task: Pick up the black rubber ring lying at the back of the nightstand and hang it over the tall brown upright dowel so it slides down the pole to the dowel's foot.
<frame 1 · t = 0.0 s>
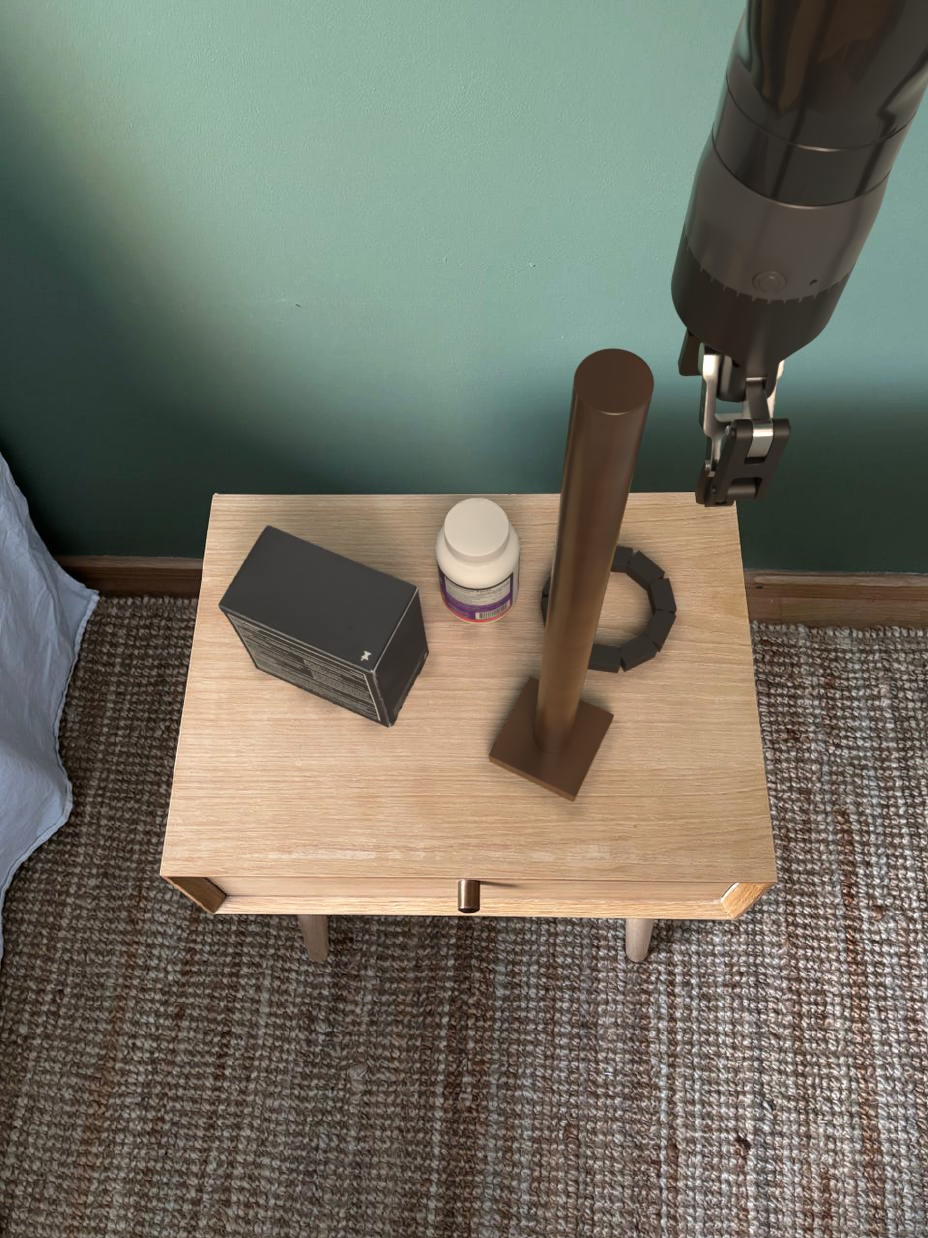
hand: (704, 432, 59), 15 cm above the table, tool pointing down, fingers open, 8 cm apart
pill bottle: (479, 592, 72), on the table
small box: (344, 659, 70), on the table
brown upright dowel: (551, 741, 67), on the table
ring: (606, 611, 71), on the table
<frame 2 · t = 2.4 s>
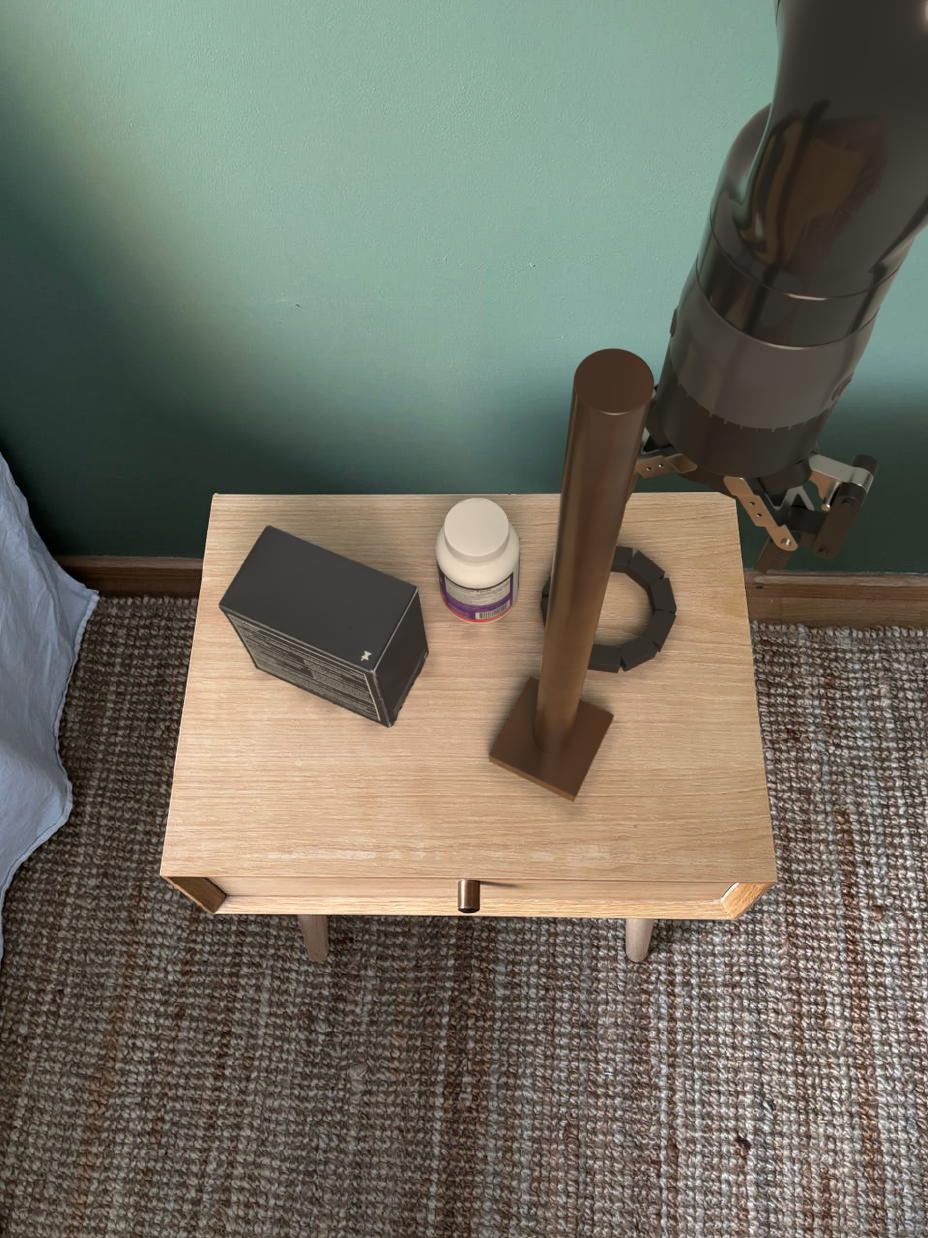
hand: (692, 527, 58), 14 cm above the table, tool pointing down, fingers open, 8 cm apart
nothing on the table moved.
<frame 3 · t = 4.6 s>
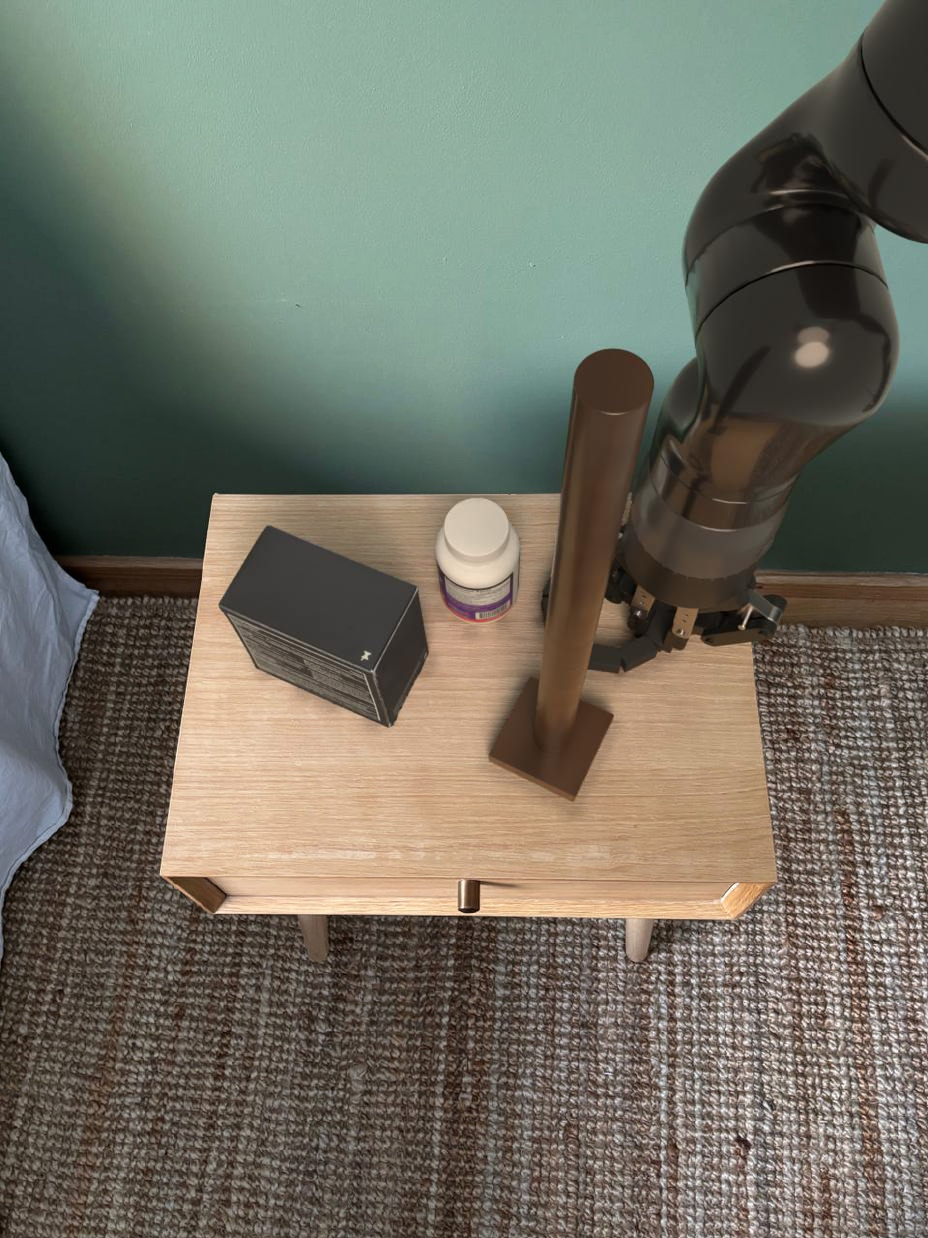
hand: (656, 633, 70), 0 cm above the table, tool pointing down, fingers closed on ring, 1 cm apart
ring: (607, 611, 71), on the table, touching gripper
everything else where it was.
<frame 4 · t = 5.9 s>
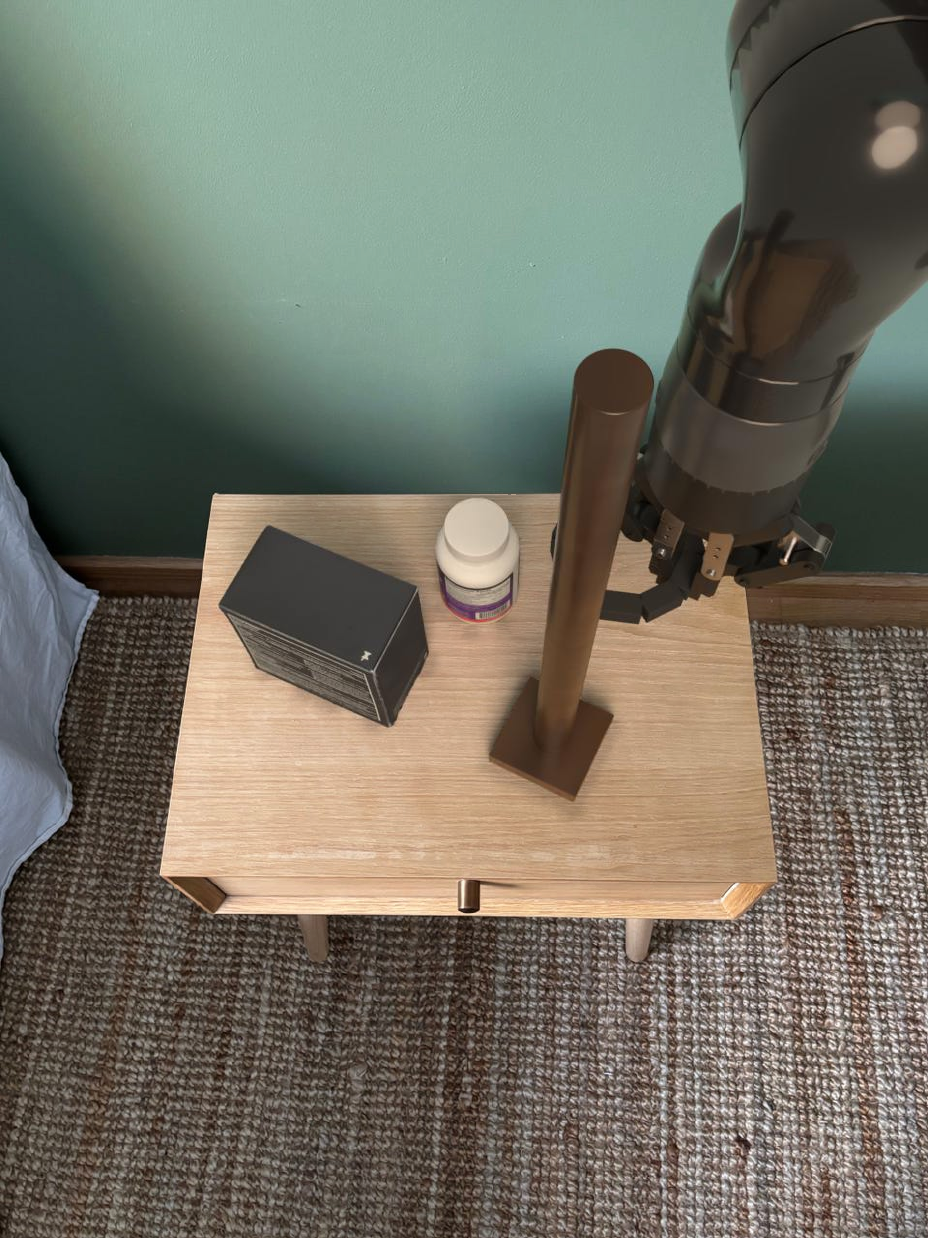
hand: (682, 578, 61), 9 cm above the table, tool pointing down, fingers closed on ring, 1 cm apart
ring: (625, 555, 62), point 9 cm above the table, touching gripper
everything else where it was.
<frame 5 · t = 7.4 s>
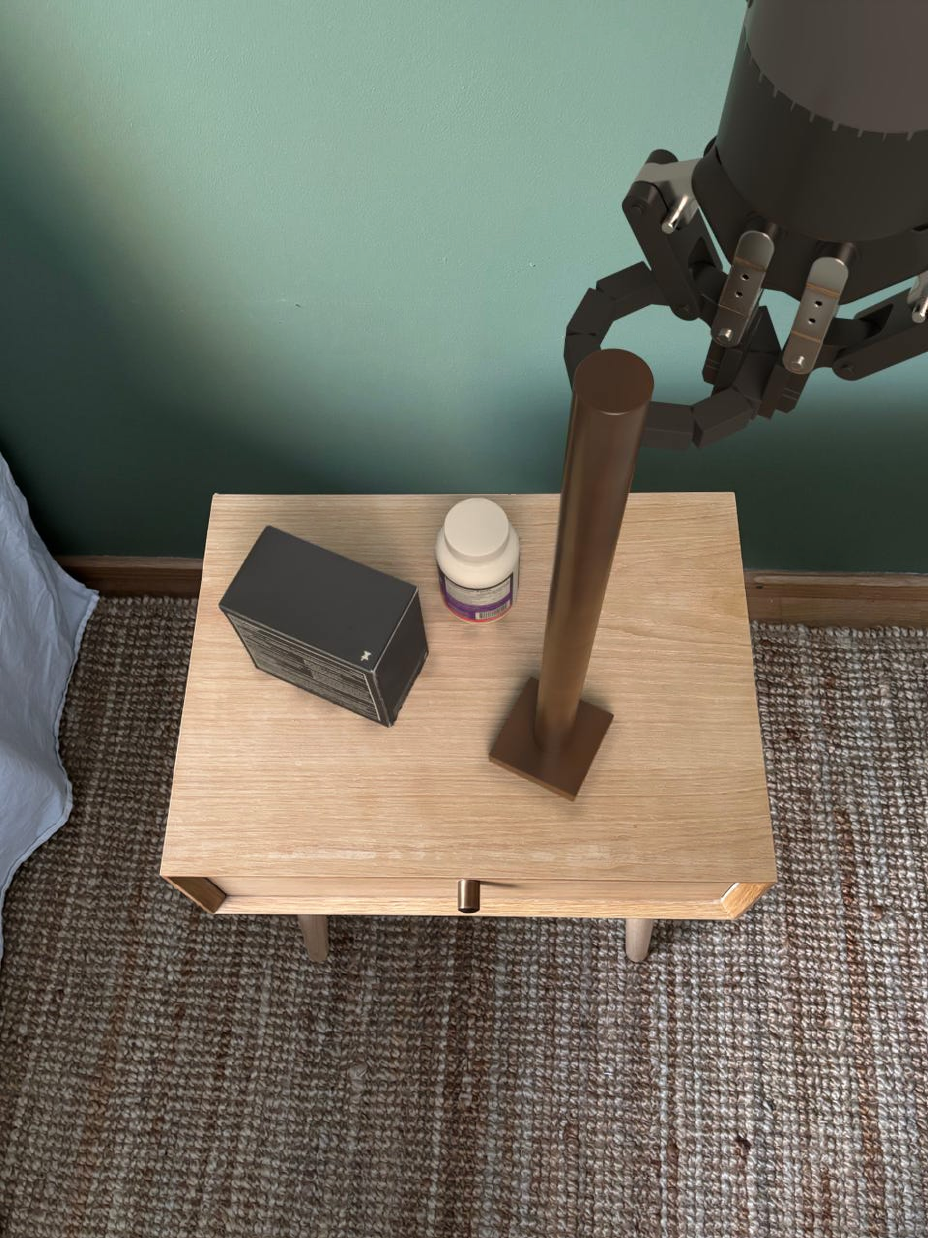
hand: (747, 391, 44), 28 cm above the table, tool pointing down, fingers closed on ring, 1 cm apart
ring: (667, 362, 45), point 28 cm above the table, touching gripper
everything else where it was.
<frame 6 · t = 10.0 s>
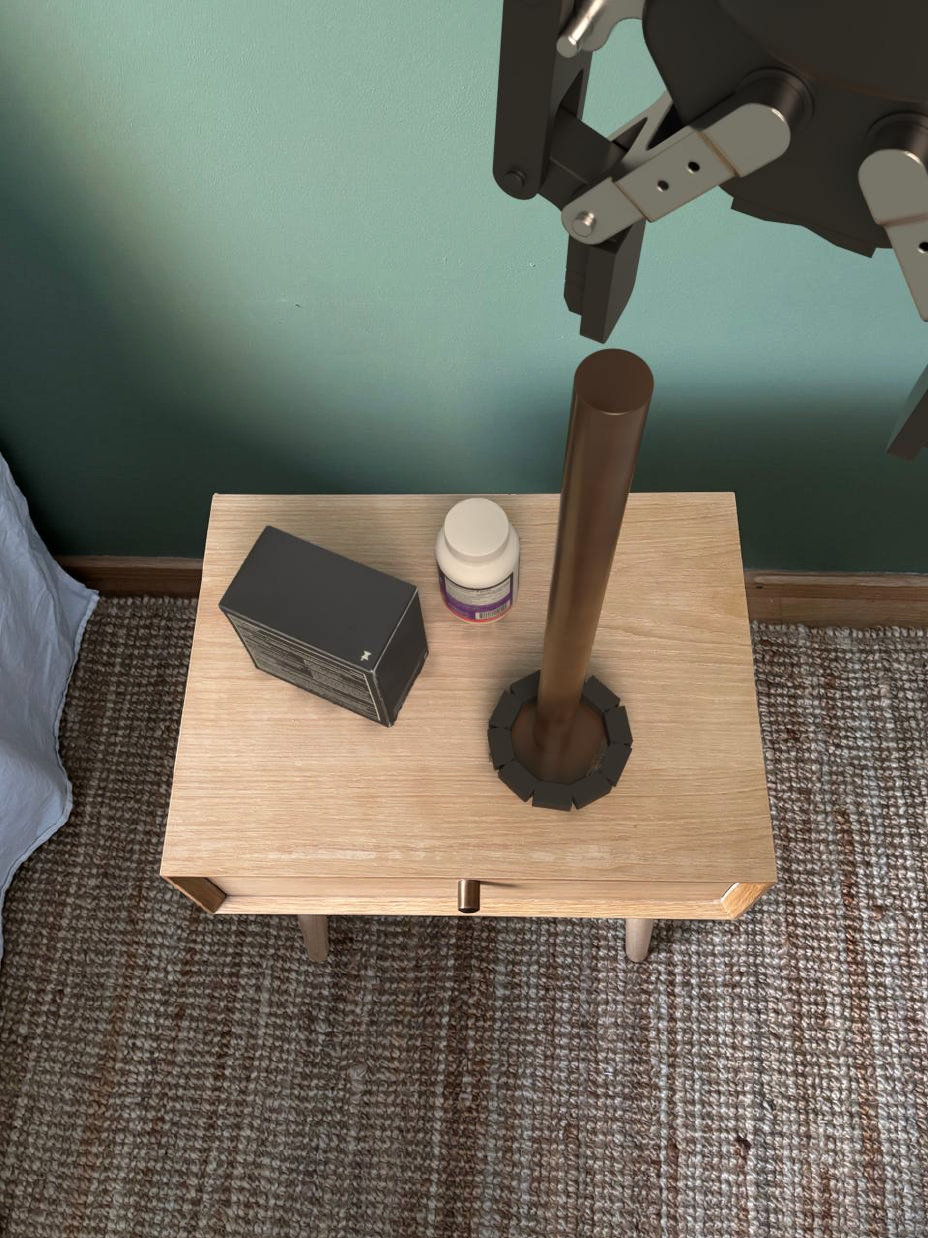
hand: (751, 372, 28), 42 cm above the table, tool pointing down, fingers open, 8 cm apart
ring: (558, 741, 66), point 1 cm above the table, touching brown upright dowel
everything else where it was.
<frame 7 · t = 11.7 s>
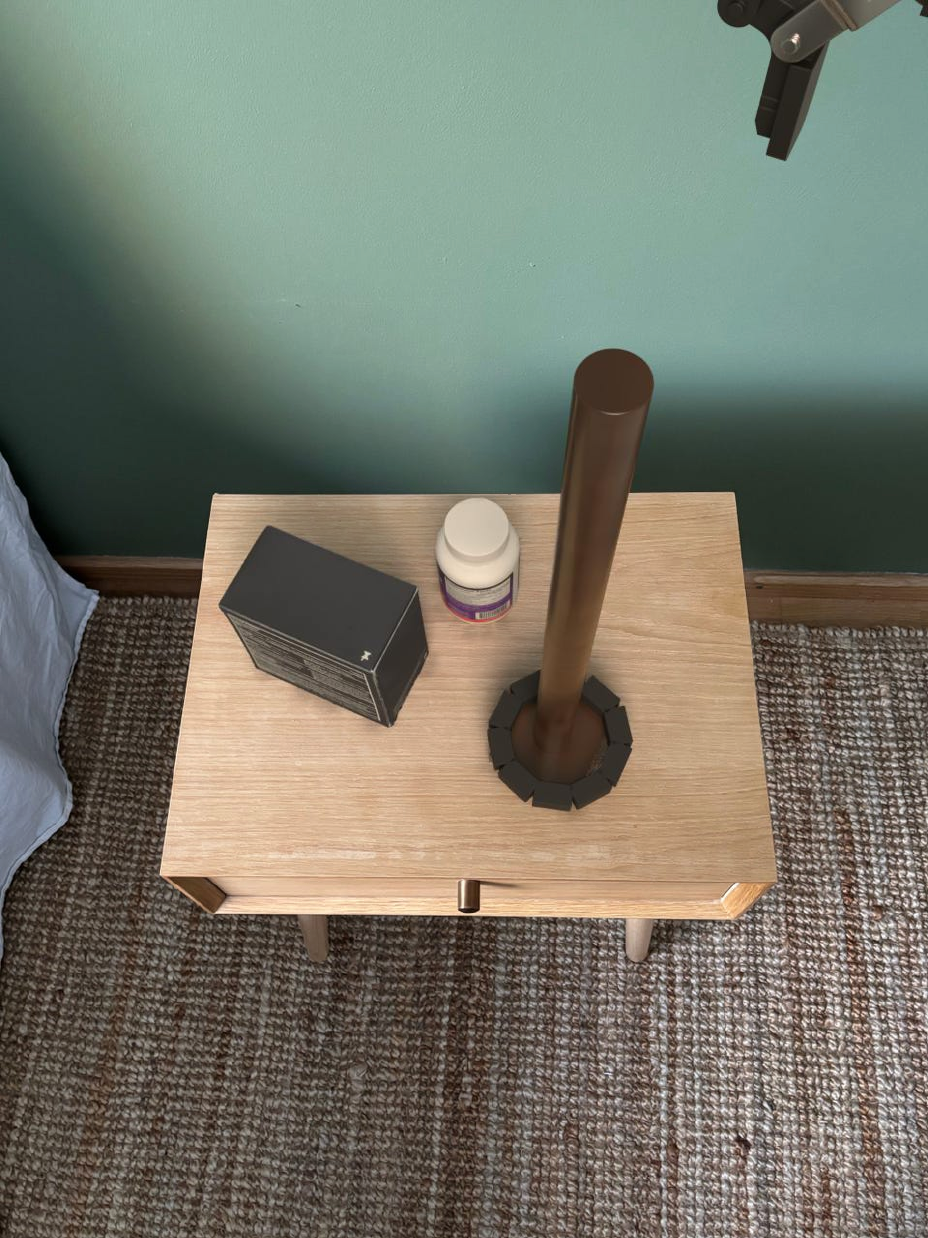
hand: (908, 179, 34), 39 cm above the table, tool pointing down, fingers open, 8 cm apart
nothing on the table moved.
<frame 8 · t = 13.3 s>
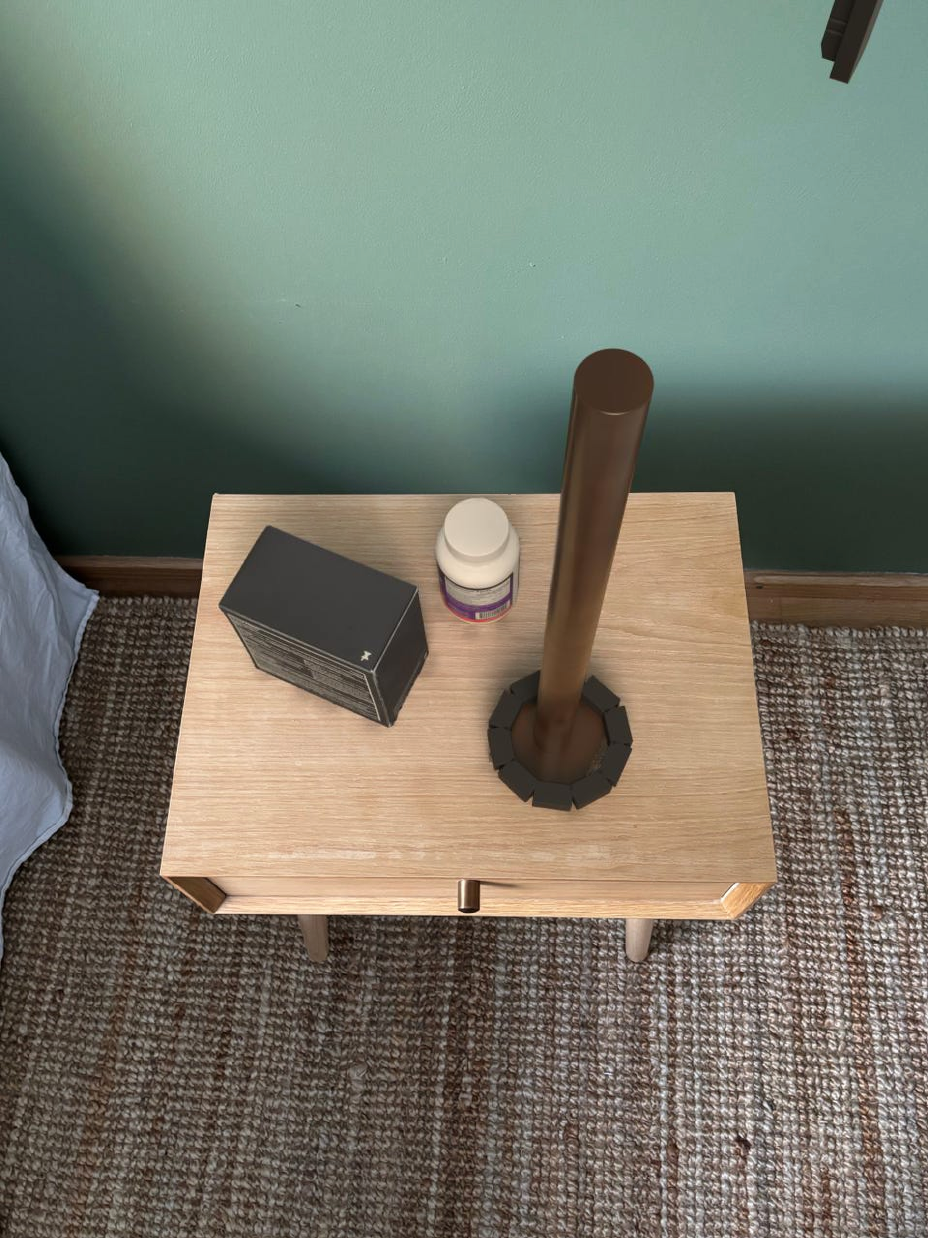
nothing on the table moved.
at the end: ring 0.6 cm from the brown upright dowel (horizontally); ring point 1.5 cm above the table; the gripper is holding nothing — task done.
